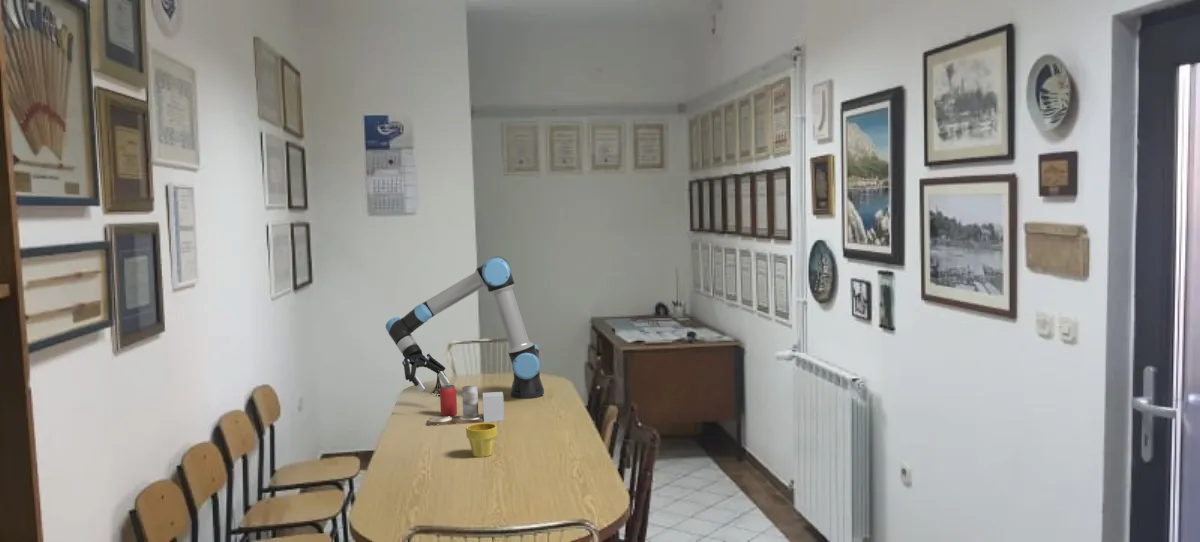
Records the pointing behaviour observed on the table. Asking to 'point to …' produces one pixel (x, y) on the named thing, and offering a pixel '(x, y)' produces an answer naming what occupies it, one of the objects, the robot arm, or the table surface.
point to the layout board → (468, 409)
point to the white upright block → (493, 406)
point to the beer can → (448, 400)
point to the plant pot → (482, 438)
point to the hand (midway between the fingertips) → (435, 387)
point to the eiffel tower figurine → (438, 386)
